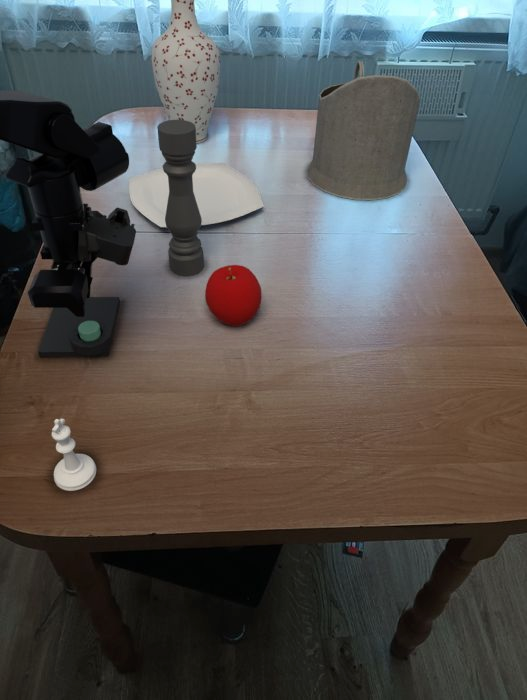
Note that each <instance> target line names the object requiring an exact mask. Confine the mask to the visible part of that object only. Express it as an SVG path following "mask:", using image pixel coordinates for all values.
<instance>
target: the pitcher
mask: <svg viewBox="0 0 527 700" xmlns="http://www.w3.org/2000/svg"><path fill="white" fill-rule="evenodd" d="M420 104H421V97H420V95H419V92H418V90H417V88H416V87H415V86H414V85H413V84H412V83H411V82H410V81H409V80H408V79H406V78H402V77H399V76H394V75H379V74H375V75H374V74H373V75H367V76H365V65H364V61H363V60H358V61H357V62H356V65H355V69H354V75H353V79H352V80H351V81H348V82H346V83H339V84H335V85H330V86H327V87H326V88H324V89H322V91H320V93H319V95H318V105H317V115H316V125H315V132H314V133H315V134H314V144H313V152H312V160H311V162H310V164H309V165H308V167H307V170H306V174H307V175H306V176H307V179H308V180H309V181H310V183H312V185H313V186H314V187H316V188H318V189H319V190H321V191H323V192H324V193H328V194H330V195H333V196H335V197H338V198H343V199H350V200H354V201H355V200H357V201H376V200H383V199H388V198H391V197H394V196H397V195H399V194H400V193H401V192H403V191H404V190H405V189H406V187H407V184H408V178H407V173H406V166H407V161H408V157H409V152H410V148H411V144H412V139H413V136H414V135H413V134H414V131H415V130H414V129H415V125H416V123H417V122H416V121H417V116H418V112H419V109H420Z"/></svg>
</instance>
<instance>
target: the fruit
mask: <svg viewBox="0 0 527 700" xmlns="http://www.w3.org/2000/svg"><path fill="white" fill-rule="evenodd" d="M205 286H206V287H205V292H204V298H205V304H206V306H207V308H208V310H209V311H210V312H211V314H212V315H213V317H215V318H216V319H217V320H218V321H220V322H221V323H223V324H226V325H228V326H232V327H236V326H237V327H238V326H242V325H245V324H246V323H248V322H249V321H251V320H253V318H254V317H255V316H256V315H257V313H258V312H259V310H260V307H261V304H262V297H263V296H262V287H261V284H260V281H259V280H258V278H257V277H256V275H255V274H254V273H253V271H251V270H250V268H248V267H246V266H244V265H240V264H231V265H230V264H229V265H224V266H222V267H221V266H220V267H219V268H217V269H215V270H214V271H213V272H212V273H211V274H210V276H209V277H208V280H207V283H206V285H205Z"/></svg>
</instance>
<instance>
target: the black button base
mask: <svg viewBox="0 0 527 700" xmlns="http://www.w3.org/2000/svg"><path fill="white" fill-rule="evenodd" d="M120 306H121V297H120V296H90V298H86V300H85V315H84V317H76V316H75V315H74V314H73V313H72V312H71V311H70V310H69V309H68V308H52V311H51V314H50V317H49V319H48V322H47V325H46V327H45V330H44V332H43V333H44V334H43V336H42V339H41V342H40V344H39V348H38V350H37V354H38V357H39V358H41V359H43V358H108V357H110V352H111V347H112V345H113V340H114V335H115V334H114V333H115V329H116V324H117V320H118V315H119V311H120ZM85 321H95V322H97V323H98V324H99V326H100V331H101V335H100V337H99V338H98V339H96V340H93V341H83V340H82V339H81V338H80V335H79V331H78V327H79V325H80V324H81V323H83V322H85Z"/></svg>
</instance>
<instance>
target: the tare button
mask: <svg viewBox="0 0 527 700" xmlns="http://www.w3.org/2000/svg"><path fill="white" fill-rule="evenodd" d="M78 331H79V335H80V338H81V339H82V340H83V341H93V340H96V339H98V338H99V337H100V335H101V331H100V326H99V324H98V323H97V322H95V321H85V322H83V323H81V324H80V325H79V327H78Z"/></svg>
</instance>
